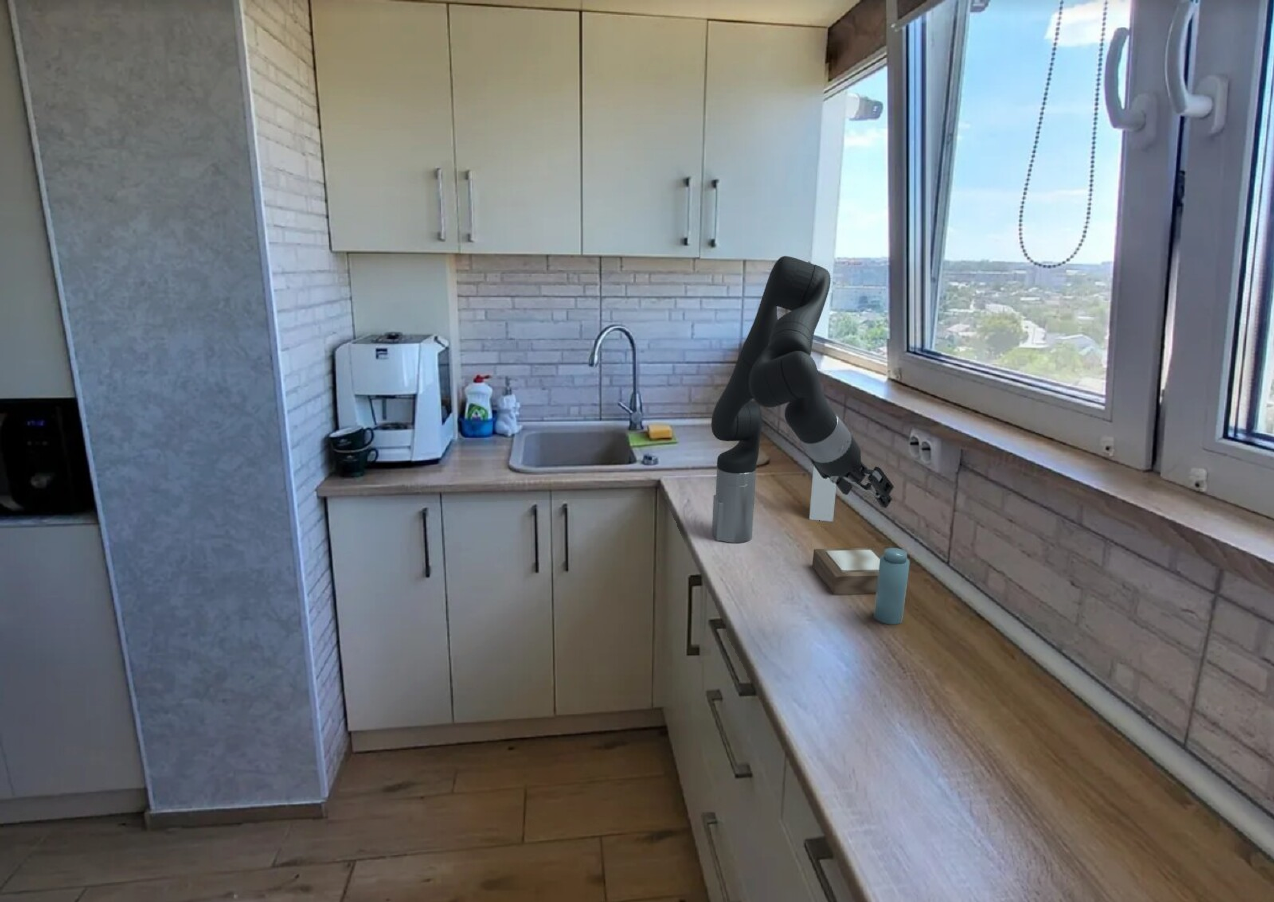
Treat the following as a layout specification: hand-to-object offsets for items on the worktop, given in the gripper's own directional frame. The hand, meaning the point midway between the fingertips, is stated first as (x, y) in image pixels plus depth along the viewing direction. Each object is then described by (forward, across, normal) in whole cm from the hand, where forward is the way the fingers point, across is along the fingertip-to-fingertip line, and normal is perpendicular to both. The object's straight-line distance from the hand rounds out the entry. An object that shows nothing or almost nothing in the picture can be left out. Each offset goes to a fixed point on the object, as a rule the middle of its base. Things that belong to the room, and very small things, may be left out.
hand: (867, 496), depth 132 cm
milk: (+44, +42, -9) cm, 62 cm away
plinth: (+28, +12, +7) cm, 31 cm away
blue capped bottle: (+22, -2, +13) cm, 26 cm away
